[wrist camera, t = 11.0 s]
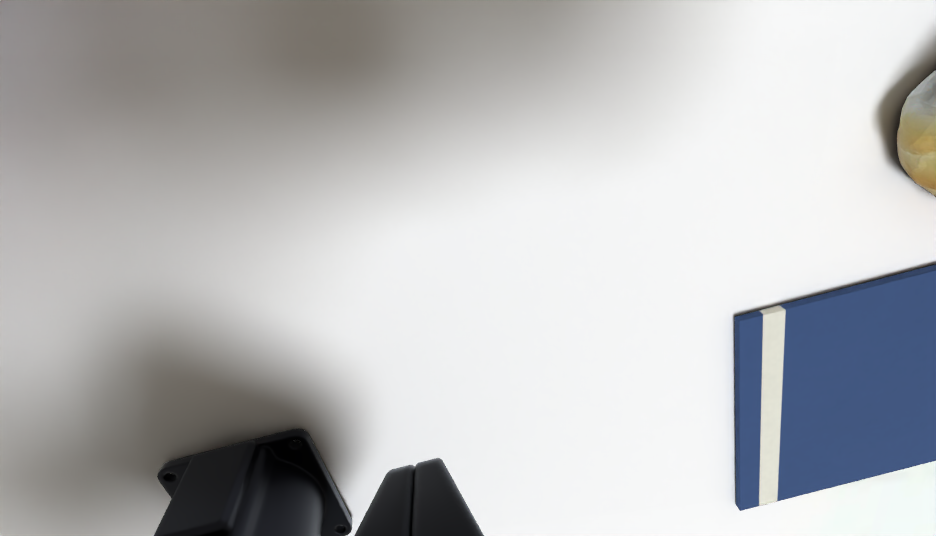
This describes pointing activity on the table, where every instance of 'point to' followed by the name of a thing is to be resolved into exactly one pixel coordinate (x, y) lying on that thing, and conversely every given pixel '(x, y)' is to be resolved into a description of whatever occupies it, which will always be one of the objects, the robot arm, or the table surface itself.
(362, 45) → the table surface
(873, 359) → the napkin
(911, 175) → the pastry
